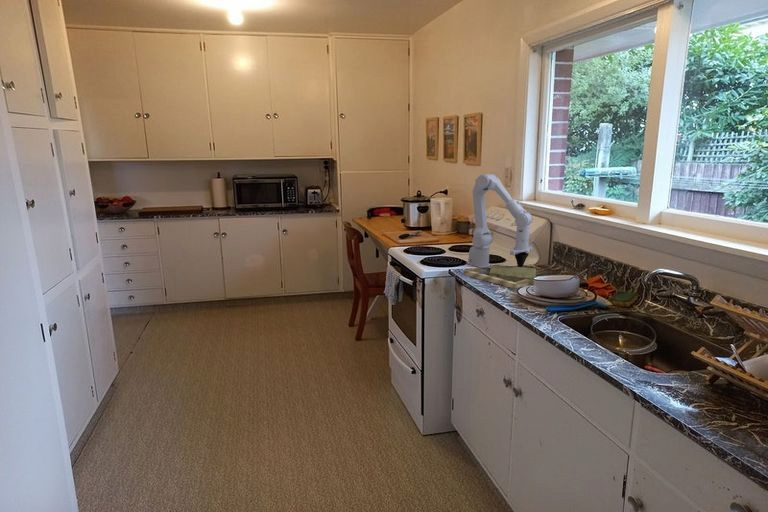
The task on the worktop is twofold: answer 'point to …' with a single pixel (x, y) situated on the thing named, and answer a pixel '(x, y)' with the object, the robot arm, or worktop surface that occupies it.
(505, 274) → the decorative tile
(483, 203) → the robot arm
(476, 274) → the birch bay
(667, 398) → the worktop surface
